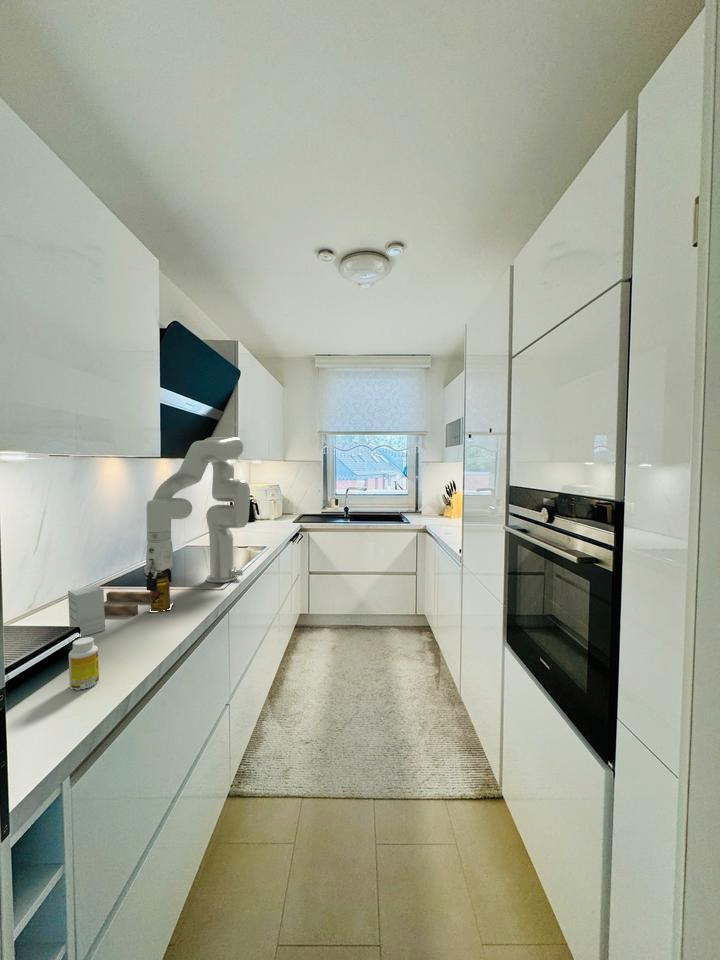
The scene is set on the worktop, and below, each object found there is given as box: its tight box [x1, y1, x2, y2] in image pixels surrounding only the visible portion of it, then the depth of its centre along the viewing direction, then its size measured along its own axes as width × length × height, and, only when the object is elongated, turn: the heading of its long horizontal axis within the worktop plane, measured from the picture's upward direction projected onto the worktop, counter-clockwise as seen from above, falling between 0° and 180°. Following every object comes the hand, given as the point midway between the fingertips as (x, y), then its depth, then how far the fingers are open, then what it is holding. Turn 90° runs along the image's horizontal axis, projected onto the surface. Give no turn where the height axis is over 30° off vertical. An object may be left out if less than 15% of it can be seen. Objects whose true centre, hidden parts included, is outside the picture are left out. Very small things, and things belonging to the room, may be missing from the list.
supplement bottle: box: [68, 636, 100, 691], centre depth 96 cm, size 6×6×10 cm
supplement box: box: [67, 584, 106, 638], centre depth 125 cm, size 7×7×13 cm
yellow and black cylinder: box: [149, 572, 171, 611], centre depth 145 cm, size 7×8×12 cm
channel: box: [104, 591, 151, 617], centre depth 146 cm, size 18×15×3 cm
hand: (159, 586), depth 144 cm, fingers open, 9 cm apart
